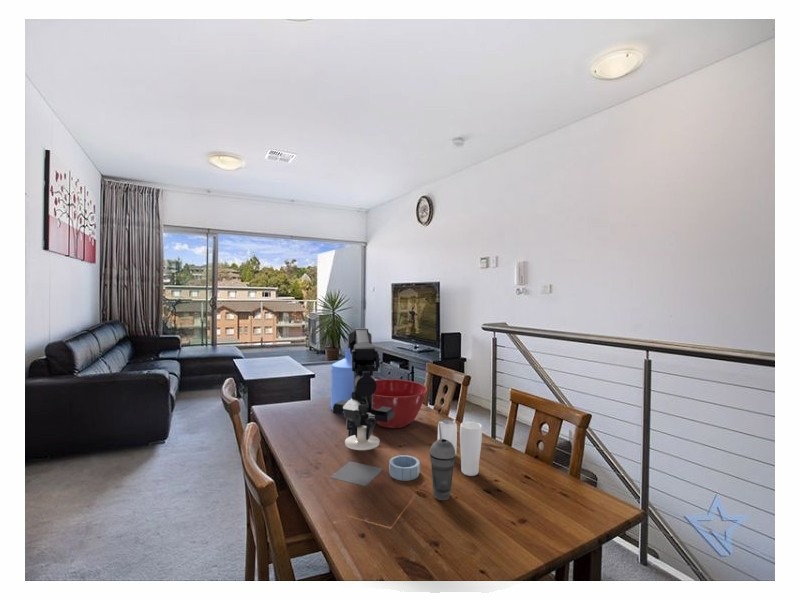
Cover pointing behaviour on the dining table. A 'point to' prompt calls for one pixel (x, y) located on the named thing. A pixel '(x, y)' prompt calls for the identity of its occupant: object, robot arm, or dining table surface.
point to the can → (448, 431)
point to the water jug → (342, 379)
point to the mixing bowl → (399, 400)
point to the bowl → (404, 467)
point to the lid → (361, 440)
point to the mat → (357, 473)
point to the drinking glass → (470, 447)
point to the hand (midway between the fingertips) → (362, 438)
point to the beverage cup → (442, 467)
